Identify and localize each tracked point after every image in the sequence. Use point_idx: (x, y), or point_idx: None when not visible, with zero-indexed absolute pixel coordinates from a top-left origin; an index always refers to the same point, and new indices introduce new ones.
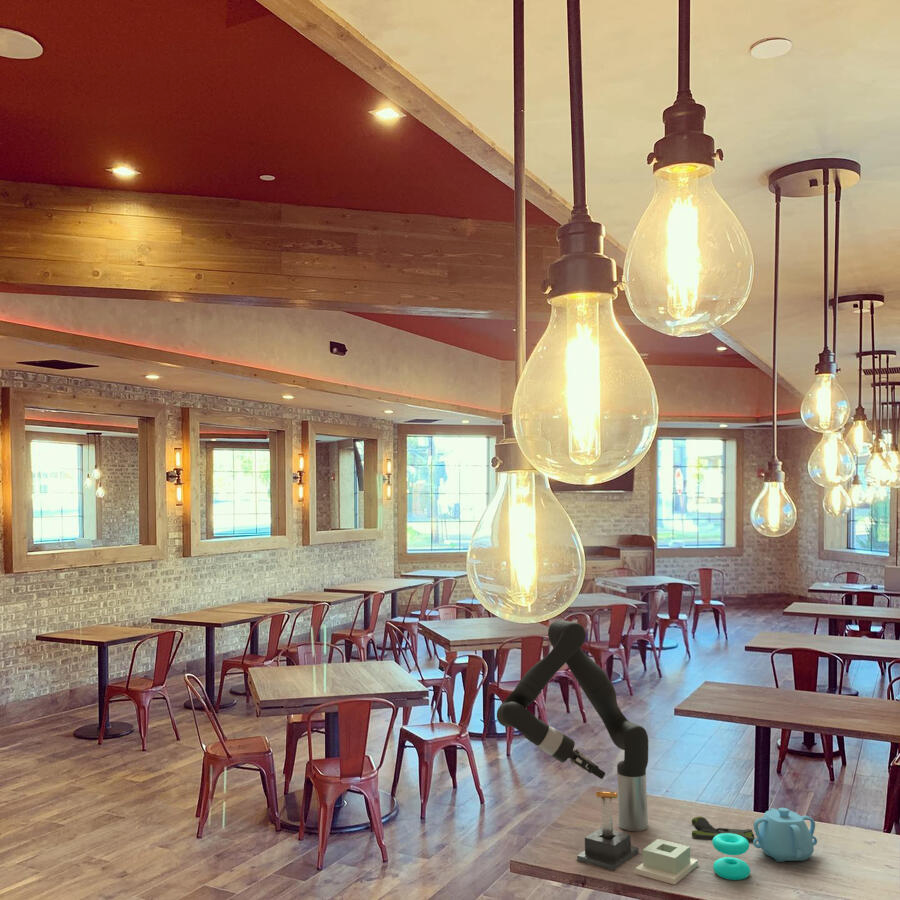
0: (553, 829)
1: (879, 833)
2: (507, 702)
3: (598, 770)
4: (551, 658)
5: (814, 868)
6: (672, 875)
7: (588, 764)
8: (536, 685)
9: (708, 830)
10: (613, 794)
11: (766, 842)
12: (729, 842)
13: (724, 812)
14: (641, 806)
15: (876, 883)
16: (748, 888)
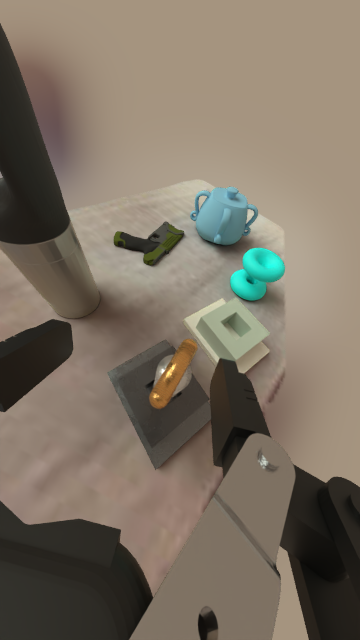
0: None
1: (196, 180)
2: None
3: (259, 412)
4: None
5: (243, 236)
6: (259, 347)
7: (11, 381)
8: None
9: (151, 246)
10: (194, 352)
11: (229, 234)
12: (279, 267)
13: (106, 211)
14: (90, 274)
15: (270, 226)
16: (276, 294)
